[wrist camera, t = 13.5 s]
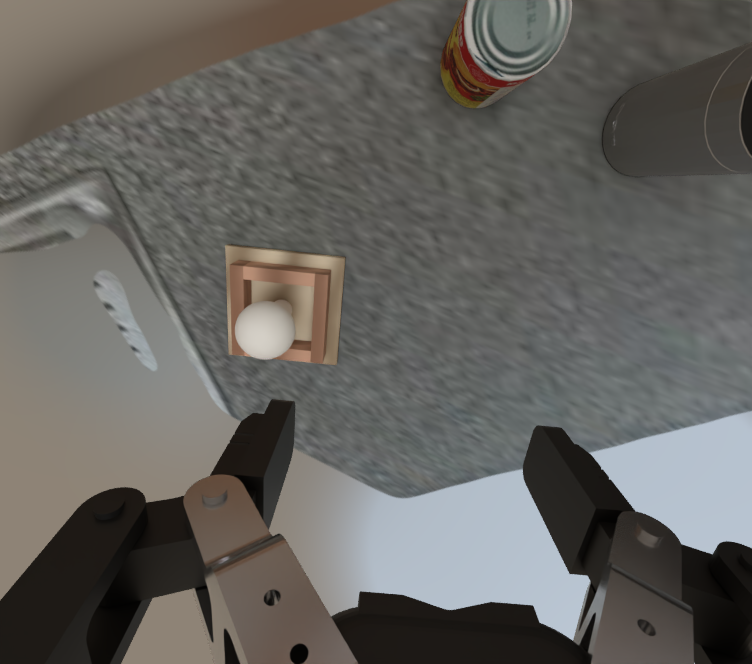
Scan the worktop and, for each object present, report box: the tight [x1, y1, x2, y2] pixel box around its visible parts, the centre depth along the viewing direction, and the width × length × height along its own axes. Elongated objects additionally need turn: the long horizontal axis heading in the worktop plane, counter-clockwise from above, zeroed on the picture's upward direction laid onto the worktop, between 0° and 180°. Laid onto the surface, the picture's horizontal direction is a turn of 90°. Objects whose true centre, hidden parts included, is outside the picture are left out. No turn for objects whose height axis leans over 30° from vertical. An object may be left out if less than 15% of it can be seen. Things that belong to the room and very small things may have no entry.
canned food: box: [440, 0, 572, 109], centre depth 34 cm, size 8×8×12 cm
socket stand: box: [225, 244, 346, 365], centre depth 47 cm, size 14×14×4 cm
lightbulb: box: [235, 299, 296, 359], centre depth 43 cm, size 6×6×11 cm
